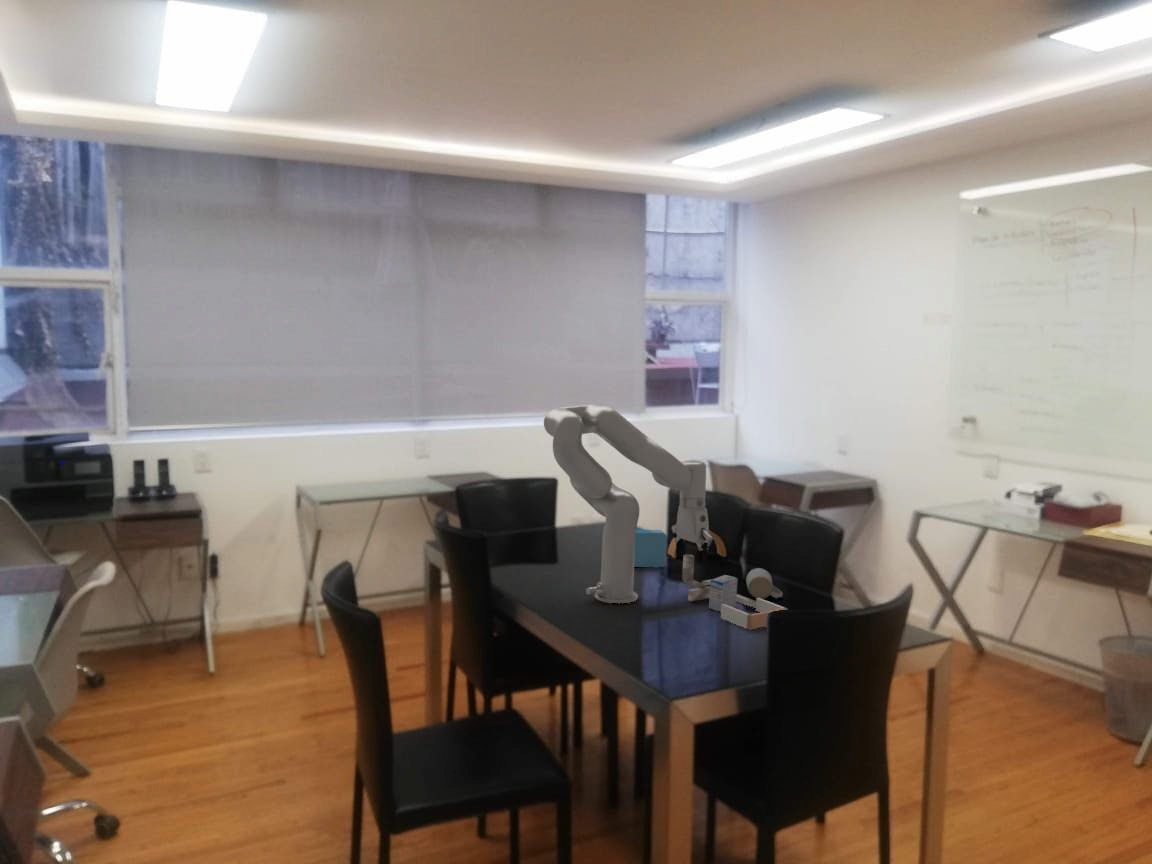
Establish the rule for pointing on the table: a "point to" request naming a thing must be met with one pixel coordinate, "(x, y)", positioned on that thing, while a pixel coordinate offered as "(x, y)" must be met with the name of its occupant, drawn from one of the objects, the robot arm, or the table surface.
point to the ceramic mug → (761, 584)
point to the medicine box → (723, 592)
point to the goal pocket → (750, 619)
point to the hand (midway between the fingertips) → (690, 559)
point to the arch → (718, 541)
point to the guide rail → (745, 601)
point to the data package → (650, 548)
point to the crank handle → (687, 577)
